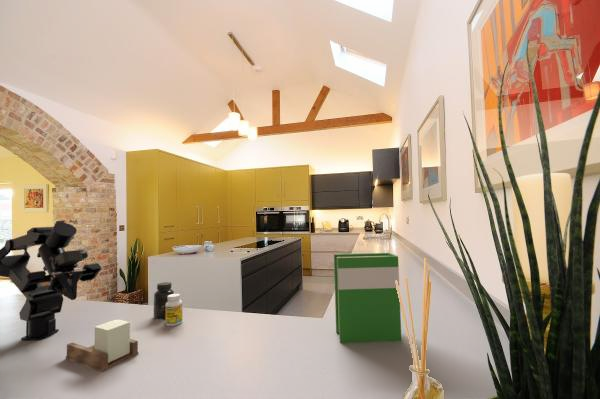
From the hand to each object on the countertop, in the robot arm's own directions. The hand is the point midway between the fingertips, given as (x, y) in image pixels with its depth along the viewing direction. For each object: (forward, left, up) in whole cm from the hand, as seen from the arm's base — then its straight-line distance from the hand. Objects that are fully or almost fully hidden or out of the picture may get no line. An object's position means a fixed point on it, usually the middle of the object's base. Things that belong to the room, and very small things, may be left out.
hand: (74, 298), depth 81 cm
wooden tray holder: (+13, -6, -14) cm, 20 cm away
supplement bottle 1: (+15, +23, -14) cm, 31 cm away
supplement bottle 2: (+22, +16, -14) cm, 30 cm away
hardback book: (+86, +3, -14) cm, 87 cm away
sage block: (+17, -8, -14) cm, 23 cm away
